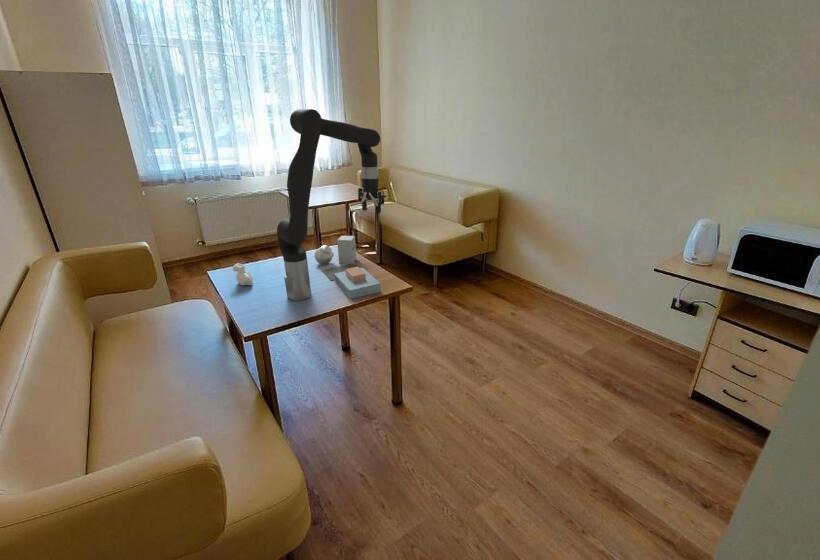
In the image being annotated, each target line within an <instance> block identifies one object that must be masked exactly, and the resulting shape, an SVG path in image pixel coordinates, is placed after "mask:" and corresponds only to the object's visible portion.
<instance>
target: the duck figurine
mask: <svg viewBox="0 0 820 560" xmlns="http://www.w3.org/2000/svg"><path fill="white" fill-rule="evenodd" d="M245 269H246V266H245V265H244V264H242V263H239V262H237V263H235V264H234V265H233V266H232V271H233V272H237V273H236V276H235V280H236V282H237V283H238V285H240V286H253V276H252V275H251V274H250V273H249V271H247V270H245Z"/></svg>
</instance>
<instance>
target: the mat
mask: <svg viewBox="0 0 820 560" xmlns="http://www.w3.org/2000/svg"><path fill="white" fill-rule="evenodd" d="M353 267H359V266H358V265H357V264H356V263H354V262H353V264H344V265H340V266H335V267H330V268H324V269H321V271H322V273H323V274H324V275H325V276H326V277H327V278H328V280H329V281H330V282H333V281H335V277H334V274H335V273H339V272H344V271H345V269H349V268H353Z"/></svg>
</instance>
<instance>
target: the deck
mask: <svg viewBox="0 0 820 560" xmlns="http://www.w3.org/2000/svg"><path fill="white" fill-rule="evenodd" d="M359 268H360V269H361V270H362V271H363V272H364V273H365V274H366V280H363V281H358V282H354V283H353V282H352V281H351V280H350V279H349V278H348V277H347V276H346V271H344V272H339V273H335V274H334V277H335V280H334V282H335V283H336V285H337V286H338V287H339V288H340V289H341V290H342V291H343V292H344V294H345V295H346V296H347V297H348V298H349V299H350V300H352V299H356V298H360V297H364V296H368V295H372V294H377V293H381V283H380V281H378V279H376V278H375V277H374V276H373V275H372V274H371V273H369V271H367V270H366V269H365V268H364V267H359Z"/></svg>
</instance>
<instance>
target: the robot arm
mask: <svg viewBox="0 0 820 560" xmlns="http://www.w3.org/2000/svg"><path fill="white" fill-rule="evenodd" d="M289 124H290V127H291V128H292V129H293V131H294V132H296V133H298V134H299V135H300V138H299V145H298V149H297V150H296V152H295V154H294V157H293V158H292V160H291V162H290V164H289V167H288V173H287V180H286V188H287V193H288V194H287V195H288V199H289V204H290V216H289V218H285V219H282V220H280V221H279V223H278V224H277V228H276V236H277V241H278V246H279V251H280V254H281V255H282V257H283V264H284V272H285V276H284V286H285V290H286V292H285V293H286V296H287V298H288V299H289V300H290V299H291V300H292V301H294V302H297V301H304V300H307V299H309V298H310V297H311V296H312V288H311V281H310V273H309V272H310V271H309V267H308V265H309V264H308V257H307V252H306V250H305V248H304V247H303V245H302V244H303V243H304V242H305V241H306V238H307V236H308V226H309V225H308V224H309V222H308V221H309V219H308V218H309V207H310V200H311V199H310V197H311V191H312V186H313V185H312V184H313V179H314V178H313V176H314V171H315V170H314V169H315V168H314V167H315V163H316V155H317V149H318V145H319V141H320V136H325V137H328V138H332V139H335V140H339V141H343V142H347V143H352V144H357V147H358V150H359V155H360V158H361V186H362V187H359V188H358V189H357V200H358V201H359V202H360V203H361V209H362V211H363V212H365V211H367V210H368V200H372V201H373V203H375V214H378V215H379V214H381V211H382V205H385V193H384V192H385V191H384V190H379V189H378V188H379V186H380V183H379V182H380V181H379V167H378V155H377V153H376V152H375V151H373V150H372V148H374V147H377V146H378V145H379V144H380V142H381V136H380V134H379V132H378V131H377V130H375V129H372V128H367V127H360V126H357V125H355V124H352V123H347V122H342V121H339V120H338V121H337V120H330V119H327V118H322V116H321V114H320V113H319V111H318V110H317V109H314V108H297V109H295V110H294V111H293V112H292V113H291V114H290V118H289Z"/></svg>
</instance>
